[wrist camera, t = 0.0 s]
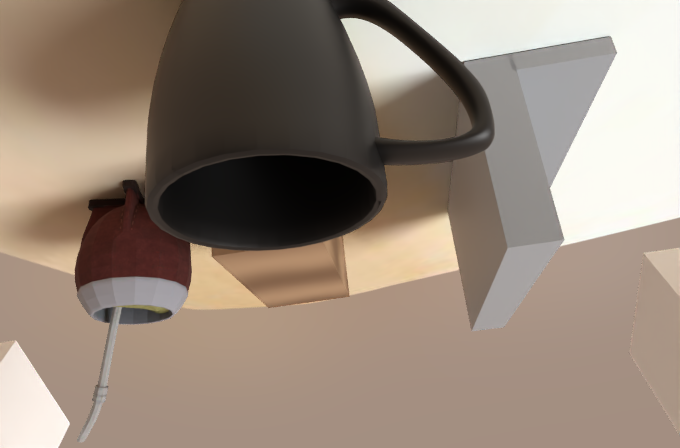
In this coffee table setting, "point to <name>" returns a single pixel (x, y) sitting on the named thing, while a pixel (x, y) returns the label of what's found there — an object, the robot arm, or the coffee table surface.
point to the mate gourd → (128, 273)
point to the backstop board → (518, 171)
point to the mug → (282, 123)
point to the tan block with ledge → (290, 272)
